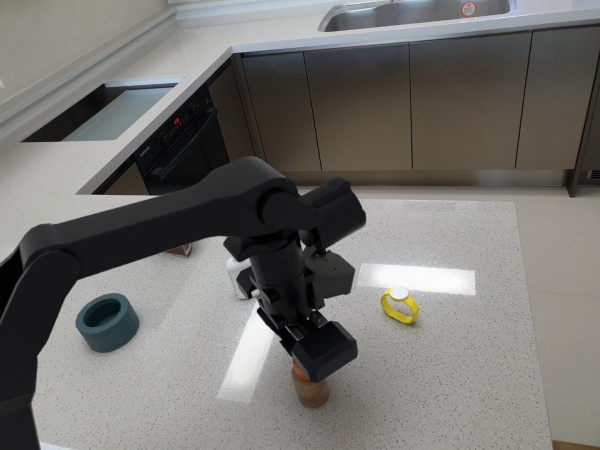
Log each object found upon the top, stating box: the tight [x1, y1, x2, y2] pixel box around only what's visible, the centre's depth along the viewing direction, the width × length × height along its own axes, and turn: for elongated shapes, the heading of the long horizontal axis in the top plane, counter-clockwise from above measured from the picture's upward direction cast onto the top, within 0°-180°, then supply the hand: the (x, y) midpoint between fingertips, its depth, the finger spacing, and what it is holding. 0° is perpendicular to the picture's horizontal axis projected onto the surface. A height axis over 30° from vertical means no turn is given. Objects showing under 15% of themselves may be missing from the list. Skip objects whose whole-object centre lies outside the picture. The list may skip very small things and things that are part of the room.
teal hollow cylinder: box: [75, 292, 140, 353], centre depth 80 cm, size 9×9×5 cm
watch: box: [379, 285, 419, 325], centre depth 71 cm, size 6×3×6 cm, turn 50°
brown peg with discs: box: [290, 333, 309, 381], centre depth 59 cm, size 3×3×8 cm
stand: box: [291, 365, 330, 409], centre depth 63 cm, size 4×4×6 cm
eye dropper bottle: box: [225, 255, 260, 300], centre depth 80 cm, size 4×6×12 cm
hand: (302, 354), depth 59 cm, fingers closed on brown peg with discs, 2 cm apart
